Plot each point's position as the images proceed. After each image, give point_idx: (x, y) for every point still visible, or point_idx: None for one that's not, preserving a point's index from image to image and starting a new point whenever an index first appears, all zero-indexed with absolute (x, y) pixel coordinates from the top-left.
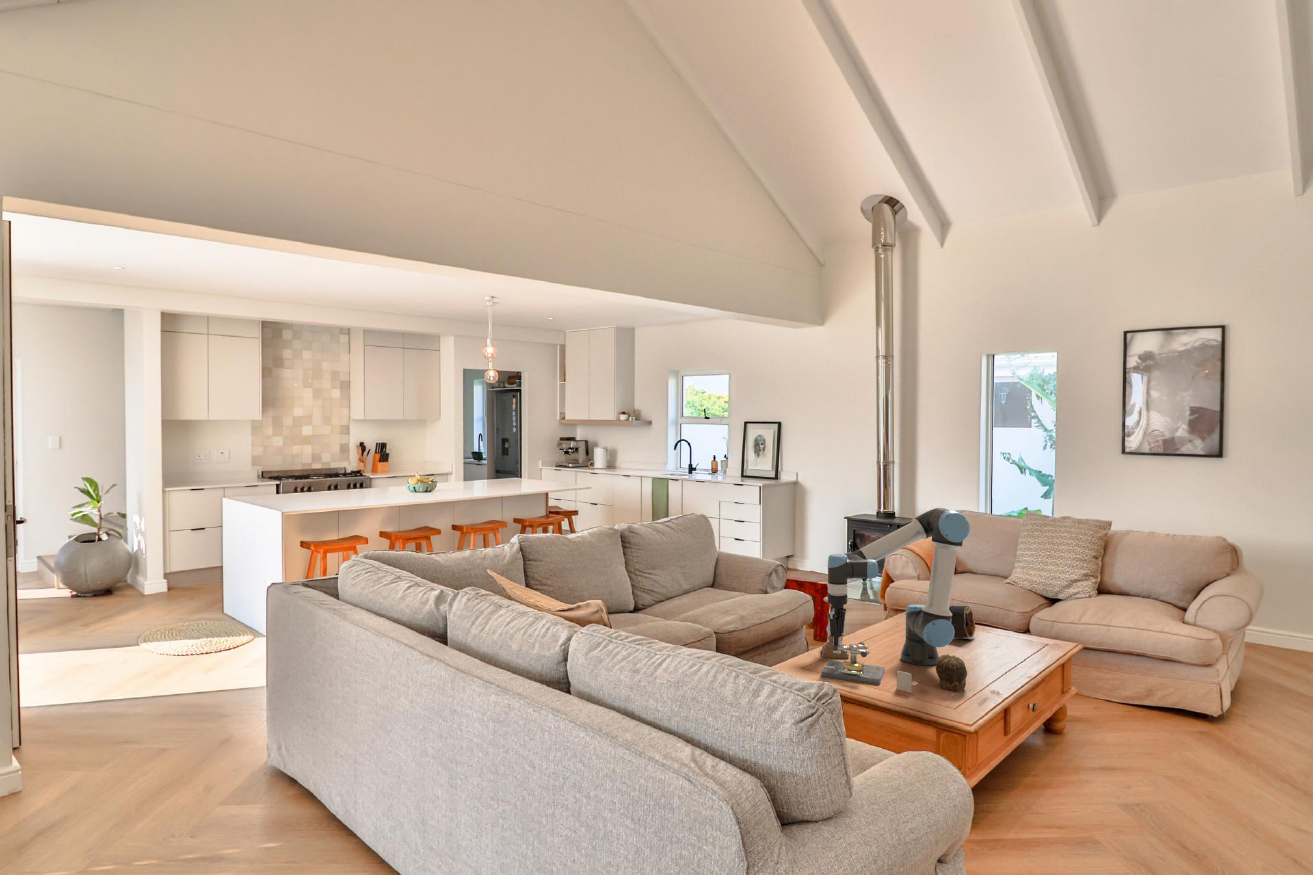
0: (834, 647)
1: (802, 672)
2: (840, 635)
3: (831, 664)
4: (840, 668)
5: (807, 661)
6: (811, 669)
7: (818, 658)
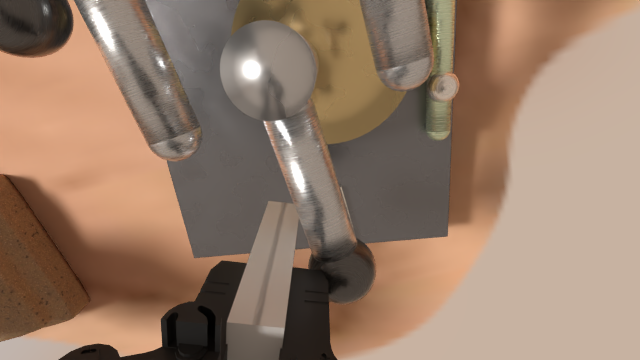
0: (374, 277)
1: (404, 313)
2: (222, 343)
3: None
4: None
5: None
6: None
7: (130, 309)
